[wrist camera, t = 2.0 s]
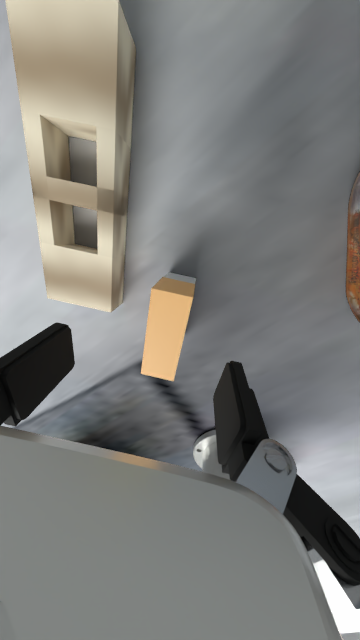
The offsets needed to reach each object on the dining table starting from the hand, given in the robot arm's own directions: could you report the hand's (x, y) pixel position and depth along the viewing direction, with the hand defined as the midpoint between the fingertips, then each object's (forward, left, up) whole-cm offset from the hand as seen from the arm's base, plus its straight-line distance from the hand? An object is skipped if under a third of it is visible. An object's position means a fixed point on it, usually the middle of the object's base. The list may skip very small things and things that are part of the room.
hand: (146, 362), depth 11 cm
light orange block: (0, +1, -11) cm, 11 cm away
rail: (+10, -8, -11) cm, 17 cm away
